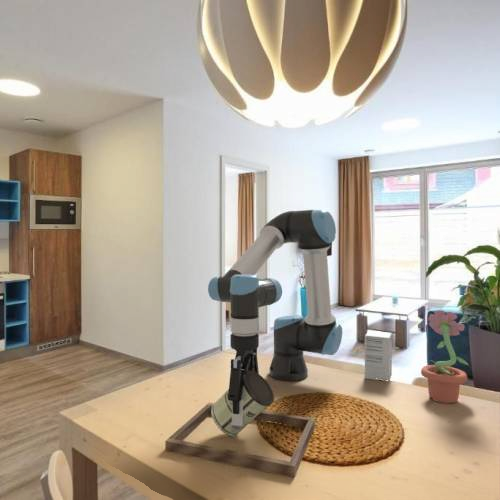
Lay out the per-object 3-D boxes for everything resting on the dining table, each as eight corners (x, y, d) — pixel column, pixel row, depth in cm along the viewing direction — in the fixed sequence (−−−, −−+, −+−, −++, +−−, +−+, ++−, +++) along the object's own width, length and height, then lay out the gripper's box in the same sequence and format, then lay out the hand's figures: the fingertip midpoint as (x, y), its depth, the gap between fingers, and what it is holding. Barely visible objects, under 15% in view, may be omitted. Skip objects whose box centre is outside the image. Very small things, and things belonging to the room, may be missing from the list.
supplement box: (368, 371, 158) (368, 330, 157) (392, 374, 154) (392, 332, 153) (364, 378, 149) (364, 335, 149) (389, 382, 145) (389, 337, 145)
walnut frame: (165, 450, 97) (165, 440, 97) (209, 410, 120) (209, 402, 120) (294, 477, 86) (294, 466, 86) (314, 427, 109) (314, 418, 109)
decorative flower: (476, 400, 128) (477, 309, 128) (463, 412, 119) (463, 315, 118) (430, 388, 139) (430, 304, 139) (414, 399, 129) (414, 309, 129)
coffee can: (227, 400, 112) (260, 369, 108) (245, 433, 106) (280, 402, 103) (204, 403, 104) (238, 370, 100) (222, 439, 98) (259, 405, 94)
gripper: (246, 323, 115) (246, 398, 115) (213, 341, 93) (213, 433, 94) (270, 325, 112) (270, 401, 112) (242, 344, 91) (242, 438, 91)
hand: (244, 416), depth 103 cm, fingers closed on coffee can, 10 cm apart
